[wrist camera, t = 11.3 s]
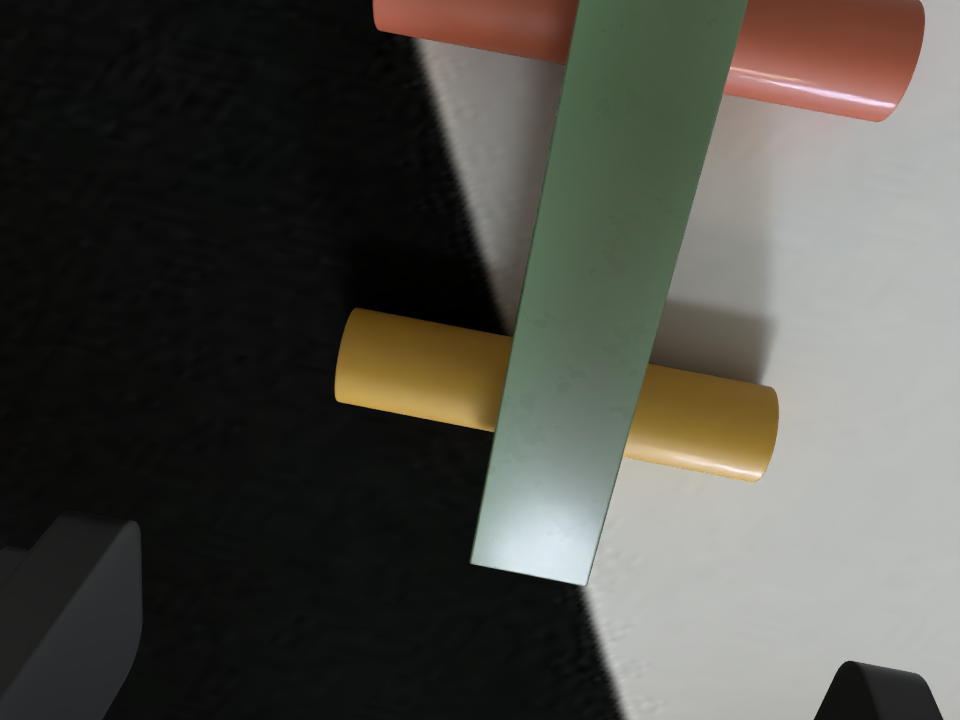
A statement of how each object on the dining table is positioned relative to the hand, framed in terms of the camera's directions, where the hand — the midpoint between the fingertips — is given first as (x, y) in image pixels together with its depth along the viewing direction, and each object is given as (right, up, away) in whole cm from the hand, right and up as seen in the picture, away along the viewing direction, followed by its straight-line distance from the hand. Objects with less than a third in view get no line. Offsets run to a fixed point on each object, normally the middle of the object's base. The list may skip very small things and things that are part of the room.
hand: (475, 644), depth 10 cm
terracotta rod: (+5, +13, +16) cm, 21 cm away
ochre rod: (+3, +3, +21) cm, 22 cm away
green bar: (+3, +7, +16) cm, 17 cm away
